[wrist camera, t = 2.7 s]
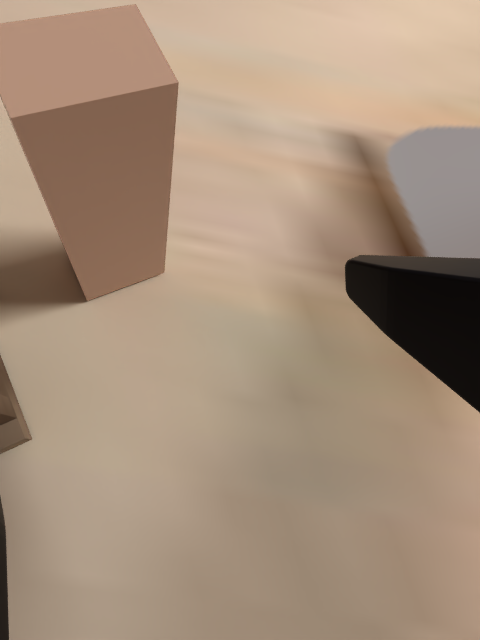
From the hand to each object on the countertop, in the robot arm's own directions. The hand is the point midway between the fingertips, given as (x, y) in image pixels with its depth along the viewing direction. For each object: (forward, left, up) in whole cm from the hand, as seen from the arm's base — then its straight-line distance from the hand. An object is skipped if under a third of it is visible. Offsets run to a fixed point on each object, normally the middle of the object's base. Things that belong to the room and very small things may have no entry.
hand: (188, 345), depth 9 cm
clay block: (+8, -2, -13) cm, 16 cm away
